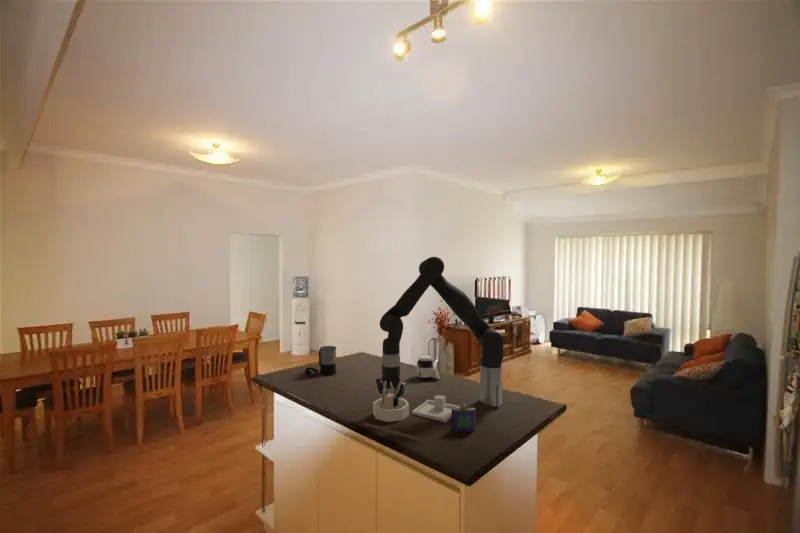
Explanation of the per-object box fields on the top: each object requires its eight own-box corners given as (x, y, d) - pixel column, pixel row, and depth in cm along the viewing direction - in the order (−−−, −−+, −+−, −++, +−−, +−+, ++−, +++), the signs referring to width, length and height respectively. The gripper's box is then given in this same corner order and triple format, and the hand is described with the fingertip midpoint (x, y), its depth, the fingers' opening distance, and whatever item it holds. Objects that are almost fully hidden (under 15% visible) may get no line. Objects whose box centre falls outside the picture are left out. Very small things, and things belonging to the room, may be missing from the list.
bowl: (413, 413, 156) (414, 401, 156) (396, 426, 144) (396, 412, 144) (385, 407, 163) (386, 394, 163) (367, 418, 151) (367, 405, 151)
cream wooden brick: (397, 406, 154) (397, 394, 154) (392, 410, 151) (392, 397, 151) (389, 404, 156) (389, 393, 156) (383, 408, 153) (384, 395, 153)
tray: (459, 411, 159) (459, 406, 159) (445, 424, 146) (445, 419, 146) (428, 404, 167) (428, 399, 167) (412, 416, 154) (412, 411, 154)
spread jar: (414, 376, 207) (415, 355, 207) (433, 373, 211) (433, 353, 211) (423, 382, 196) (423, 360, 196) (442, 380, 200) (443, 358, 200)
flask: (474, 430, 141) (474, 402, 141) (476, 434, 138) (477, 405, 138) (450, 431, 141) (450, 403, 140) (452, 435, 138) (452, 406, 137)
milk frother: (339, 372, 213) (339, 347, 212) (319, 380, 200) (319, 352, 199) (321, 368, 220) (321, 343, 220) (301, 375, 207) (301, 349, 207)
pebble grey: (445, 407, 160) (445, 396, 160) (443, 411, 157) (443, 399, 157) (436, 406, 162) (436, 394, 162) (434, 409, 158) (434, 398, 158)
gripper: (410, 364, 153) (410, 405, 153) (381, 359, 160) (381, 398, 161) (401, 368, 147) (400, 412, 147) (371, 363, 154) (371, 404, 154)
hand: (390, 404), depth 154 cm, fingers closed on cream wooden brick, 4 cm apart
